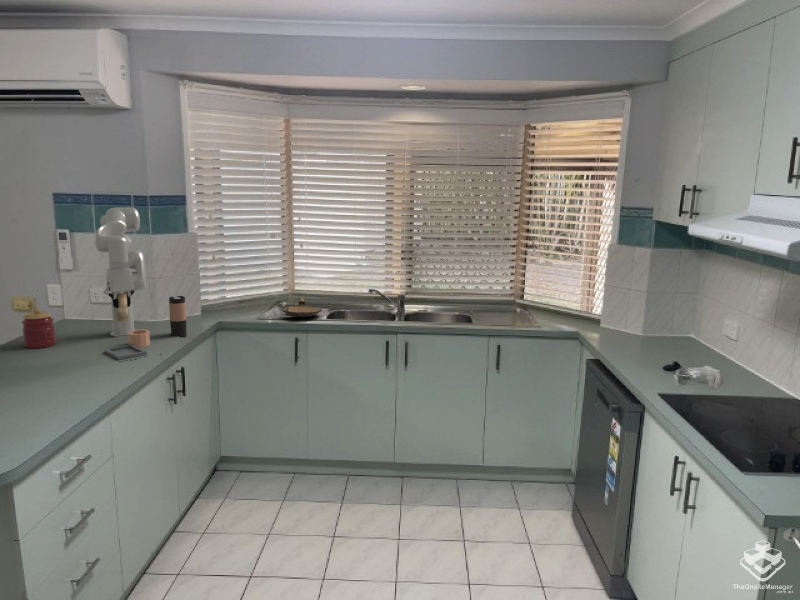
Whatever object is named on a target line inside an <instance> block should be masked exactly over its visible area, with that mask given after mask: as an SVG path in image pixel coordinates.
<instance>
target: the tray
mask: <svg viewBox="0 0 800 600" xmlns="http://www.w3.org/2000/svg"><path fill="white" fill-rule="evenodd" d="M103 351H104V352H103V353H105V354H106V355H109V356H110V357H112V358H114V359H115V360H117V361H120V363H123V361H125V362H128V360H130V361H133V360H132V359H135V360H138V359H137V358H139V359H142V358H141V357H144V358H147V357H148V356H147V355H148V353H147V352H148V351H146V350H144V349H143V348H142V347H136V346H134V345H132V344H125V345H120V346H115V347H110V348H109V347H108V348H104V349H103Z"/></svg>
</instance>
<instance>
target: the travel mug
mask: <svg viewBox="0 0 800 600" xmlns="http://www.w3.org/2000/svg"><path fill="white" fill-rule="evenodd" d="M168 303H169V304H168V305H169V306H168V307H169V324H170V325H169V326H170V336H173V337H179V338H182V337H183V338H185V337H187V336H188V335H187V332H188V331H187V311H186V308H187V307H186V297H185V296H183V295H178V296H175V297H174V296H170V297H169V298H168Z"/></svg>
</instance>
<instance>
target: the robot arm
mask: <svg viewBox="0 0 800 600" xmlns="http://www.w3.org/2000/svg"><path fill="white" fill-rule="evenodd" d="M140 217H141V216H140V213H139V211H138V210H137V208H135V207H123V206H122V207H117V206H116V207H111V208H109V209H107V210H106V212H105V215H102V216H101V217H100V219H99V222H100V223H99V224H100V226H99V227H98V228H97V230H96V232H95V237H94V238H95V239H94V240H95V249H97V251H98V252H100V253H107V254H108V264H109V268H107V270H106V280H105V281H106V282H105V283H106V287H105V289H104V290H103V294H105V295H106V296H108V297H109V298H110V303H111V313H112V315H111V316H112V326H113V328H112V329H113V330H112V331H110V336H111V337H115V338H116V337H117V338H120V337H126V336H127V337H128V332H130V331H134V330H137V329H136V328H135V322H134V319H135V318H134V308H133V307H134V305H133V299H132V296H133V295H134V293H135V292H138V291H143V290H145V289H146V287H147V284H148V283H147V271H146V259H145V255H144V253H143V251H141V250H140V249H139V250H138V249H131V248H132V247H133V244H132V243H133V241H132V238H130V236H128V235H126V232H137V231H139V229H140V226H141V218H140ZM132 270H134V271H132ZM117 293H127V304H128V318H129V320H128V321H124V322H119V321H118V319H117V308H118V299H117Z"/></svg>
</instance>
